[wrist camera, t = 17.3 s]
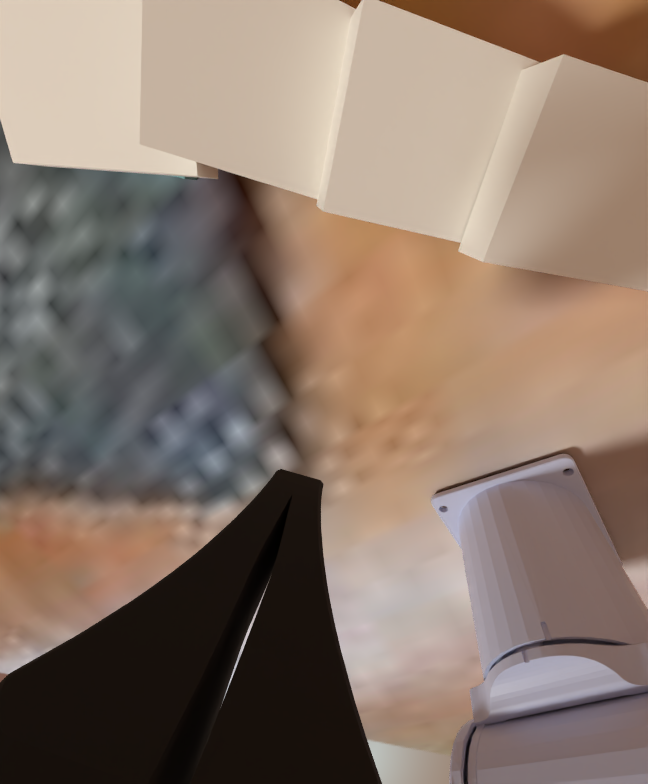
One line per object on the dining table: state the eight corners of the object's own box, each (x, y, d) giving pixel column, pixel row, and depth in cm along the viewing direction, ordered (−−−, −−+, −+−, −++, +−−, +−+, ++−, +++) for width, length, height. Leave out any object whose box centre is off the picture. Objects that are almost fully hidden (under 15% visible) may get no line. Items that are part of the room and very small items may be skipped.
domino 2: (418, 41, 12) (144, -102, 9) (365, 214, 14) (139, 144, 11) (395, 53, 13) (154, -68, 10) (351, 208, 16) (148, 144, 13)
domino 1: (180, -20, 11) (-40, -20, 12) (197, 176, 14) (13, 162, 15) (207, 8, 13) (9, 6, 14) (218, 179, 15) (50, 166, 16)
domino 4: (782, 127, 11) (563, 54, 9) (668, 295, 14) (482, 262, 12) (719, 132, 12) (521, 70, 11) (628, 282, 15) (457, 251, 13)
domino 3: (604, 86, 11) (364, -5, 9) (522, 256, 14) (323, 211, 12) (564, 95, 13) (350, 17, 11) (497, 247, 15) (316, 205, 14)
